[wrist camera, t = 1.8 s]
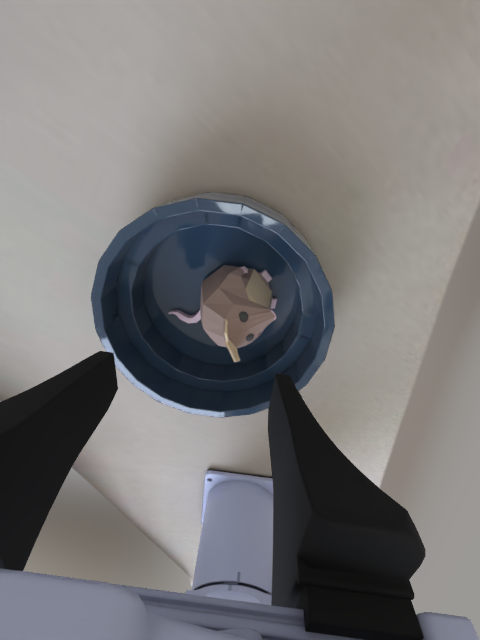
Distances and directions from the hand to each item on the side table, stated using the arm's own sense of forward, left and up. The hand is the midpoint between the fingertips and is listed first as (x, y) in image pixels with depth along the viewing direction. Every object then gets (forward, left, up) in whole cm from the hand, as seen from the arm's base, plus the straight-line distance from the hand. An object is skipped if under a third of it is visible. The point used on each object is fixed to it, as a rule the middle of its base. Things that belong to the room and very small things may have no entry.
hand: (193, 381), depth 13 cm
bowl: (0, 0, -9) cm, 9 cm away
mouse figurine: (0, 0, -9) cm, 9 cm away
